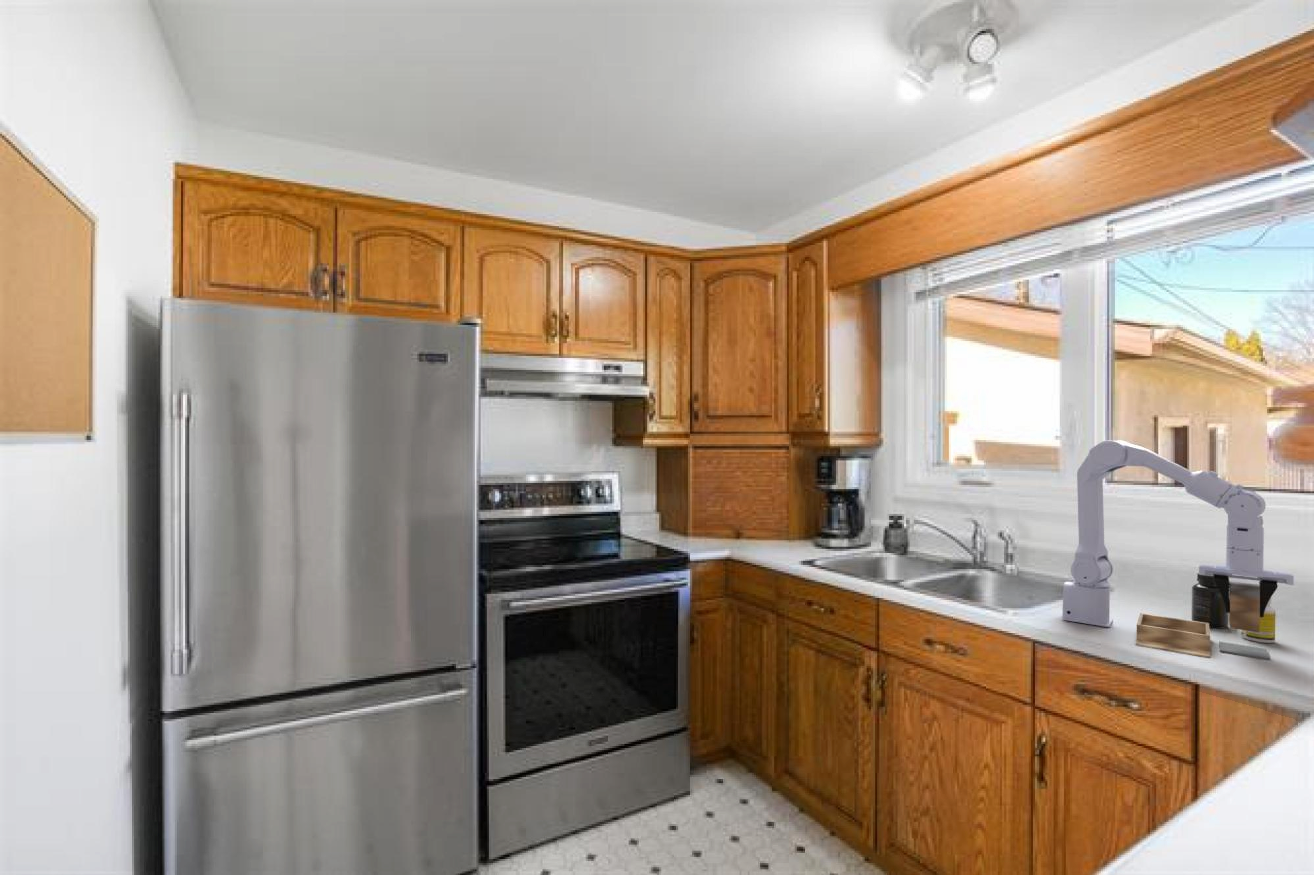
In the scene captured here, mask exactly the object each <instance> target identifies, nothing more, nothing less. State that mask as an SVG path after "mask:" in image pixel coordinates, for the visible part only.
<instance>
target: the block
mask: <svg viewBox="0 0 1314 875" xmlns="http://www.w3.org/2000/svg"><path fill="white" fill-rule="evenodd" d="M1229 602H1230V613H1229V626H1228V627H1229V628H1230V629H1234V630H1240V631H1242V630H1246V631H1253V632H1260V587H1259V583H1258V584H1257V583H1256V584H1255V583H1250V582H1249V583H1247V582H1239V581H1238V582H1237V581H1230V580H1229Z"/></svg>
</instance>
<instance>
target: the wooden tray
mask: <svg viewBox="0 0 1314 875" xmlns="http://www.w3.org/2000/svg"><path fill="white" fill-rule="evenodd" d="M1134 644H1135V646H1138V647H1146V648H1151V649H1156V650H1163V651H1167V652H1168V651H1169V652H1175V653H1180V654H1187V655H1190V656H1191V655H1192V656H1196V657H1197V656H1198V657H1203V658H1211V630H1210V627H1209V623H1204V622H1197V621H1192V620H1187V619H1182V618H1177V617H1176V618H1175V617H1168V616H1162V615H1156V614H1155V615H1154V614H1149V613H1144V612H1143V613H1139V617H1138V619H1137V622H1136V640H1135V643H1134Z"/></svg>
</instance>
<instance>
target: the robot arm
mask: <svg viewBox="0 0 1314 875" xmlns="http://www.w3.org/2000/svg"><path fill="white" fill-rule="evenodd" d="M1083 460H1084V461H1083V462H1081V465H1080V466H1079V468H1078V469H1077V474H1076V477H1077V478H1076V479H1077V480H1076V481H1077V482H1076V483H1077V514H1078V515H1077V518H1078V521H1077V522H1078V545H1077V547H1076V550H1075V553H1074V559H1073V560H1074V561H1073V562H1072V564H1071V567H1070V572H1071V573H1070V575H1071V576H1072V578H1073V582H1072V581H1064V583H1063V588H1062V589H1063V591H1062V606H1061V607H1062V609H1061V610H1062V617H1061V619H1062V620H1063V621H1069V622H1073V623H1078V624H1079V623H1080V624H1086V625H1091V626H1099V627H1103V628H1104V627H1105V628H1110V627H1111V625H1112V624H1113V618H1111V617H1110V611H1111V610H1110V606H1111V605H1110V602H1111V598H1110V597H1111V594H1110V593H1111V591H1110V589H1111V585H1110V582H1109V580H1108V579H1109V578H1110V577H1111V576H1112V575H1113V571H1114V568H1113V564H1112V563H1111V561H1110V558H1109V556H1108V555H1109V554H1108V552H1109V551H1108V550H1107V548H1106V545H1105V532H1104V531H1105V524H1104V520H1105V519H1104V516H1105V515H1104V485H1103V484H1104V482H1103V481H1104V479H1105V478H1107V477H1109V476H1110V475H1111V474H1113V473H1114V472H1115V471H1116V470H1117V471H1118V470H1119V469H1122V468H1125V467H1127V466H1128V467H1144V468H1146V469H1148V470H1151V471H1154V472H1156V473H1159V474H1160V475H1163V476H1164V477H1167V478H1169V479H1171V480H1174V481H1176V482H1178V483H1180V484H1182V485H1183V486H1184V488H1185V491H1186V493H1187V494H1189V495H1191V496H1193V497H1195V498H1197V499H1199V500H1202V501H1204V502H1205V503H1208V504H1210V505H1212V506H1213V507H1216V508H1218V509H1224V512H1225V513H1226V514H1227V525H1226V546H1225V547H1226V548H1225V550H1226V552H1225V554H1226V555H1225V556H1226V557H1225V560H1226V561H1225V565H1222V566H1221V565H1209V564H1208V565H1207V564H1199V565H1198V573H1199V575H1211V576H1213V578H1214V581H1215V583H1216V585H1217V587H1218V589H1219V591H1220V593H1221V595H1222V598H1223V601H1224V604H1225V612H1227V613H1230V602H1229V581H1230V578H1231V579H1232V578H1233V579H1238V580H1239V579H1241V580H1249V581H1258V585H1259V587H1260V617H1264V612H1265V609H1266V606H1267V604H1268V602H1269V600H1270V598H1271V599H1272V596H1273V595H1274V593H1275V592H1276V590H1278V587H1279V585H1278V584H1285V585H1287V586H1288V585H1290V586H1294V585H1295V584H1294V582H1295V581H1294V579H1295V578H1294V574H1292V573H1284V572H1277V571H1272V570H1271V571H1270V570H1269V571H1268V570H1264V543H1265V542H1264V540H1265V539H1264V534H1265V532H1264V531H1265V530H1264V527H1263V524H1264V518H1263V517H1264V516H1263V515H1262V514H1263V513H1264V512H1265V510H1266V506H1267V504H1266V501H1265V499H1264V498H1263V497H1262V496H1261V495H1260V494H1258V493H1257V492H1256V491H1254V490H1252V489H1251V490H1250V489H1244V486H1243V485H1241V484H1239V483H1238V484H1234V483H1232V482H1230V481H1228V480H1225V479H1224V478H1221V477H1219V476H1218V475H1219V473H1218V472H1215V471H1213V470H1210V471H1206V470H1199V471H1191V470H1190V469H1187V468H1185V467H1183V466H1182V465H1180V464H1178V463H1175V461H1172V460H1170V459H1168V458H1165V457H1164V456H1162V455H1160V454H1159V453H1156V452H1154V451H1152V450H1150V449H1147V448H1145V447H1142V446H1139V445H1136V444H1132V443H1130V442H1129V441H1126V440H1103V441H1100V442H1099V443H1098V444H1096V445H1095V446H1093V447H1092V448H1090V449H1089V450H1088V454H1087V456H1086V457H1085V459H1083Z"/></svg>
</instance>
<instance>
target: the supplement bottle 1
mask: <svg viewBox="0 0 1314 875" xmlns="http://www.w3.org/2000/svg"><path fill="white" fill-rule="evenodd" d="M1196 581H1197V583H1195V584H1194V585H1192V587H1191V621H1197V622H1204V623H1209V628H1213V629H1227V628H1229V627H1230V626H1229V613H1227V612H1225V604H1224V601H1223V598H1222V595H1221V593H1220V591H1219V589H1218V587H1217V585H1216V583H1215V581H1214V578H1213V576H1211V575H1199V572H1198V573H1197V576H1196Z"/></svg>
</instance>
